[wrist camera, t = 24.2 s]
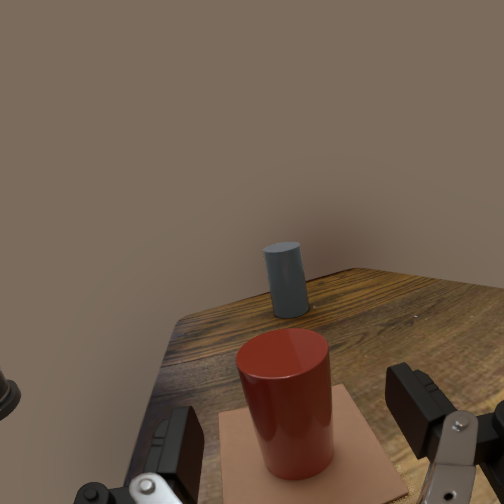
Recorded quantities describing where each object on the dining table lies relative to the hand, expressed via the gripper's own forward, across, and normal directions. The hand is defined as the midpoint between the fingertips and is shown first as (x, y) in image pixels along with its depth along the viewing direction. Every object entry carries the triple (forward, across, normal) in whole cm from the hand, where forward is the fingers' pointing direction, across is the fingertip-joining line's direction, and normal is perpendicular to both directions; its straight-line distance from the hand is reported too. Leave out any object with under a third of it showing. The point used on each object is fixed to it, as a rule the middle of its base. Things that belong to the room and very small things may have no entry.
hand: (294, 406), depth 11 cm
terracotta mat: (+6, 0, -11) cm, 13 cm away
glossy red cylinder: (+6, 0, -11) cm, 12 cm away
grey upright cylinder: (+33, +3, -11) cm, 35 cm away
